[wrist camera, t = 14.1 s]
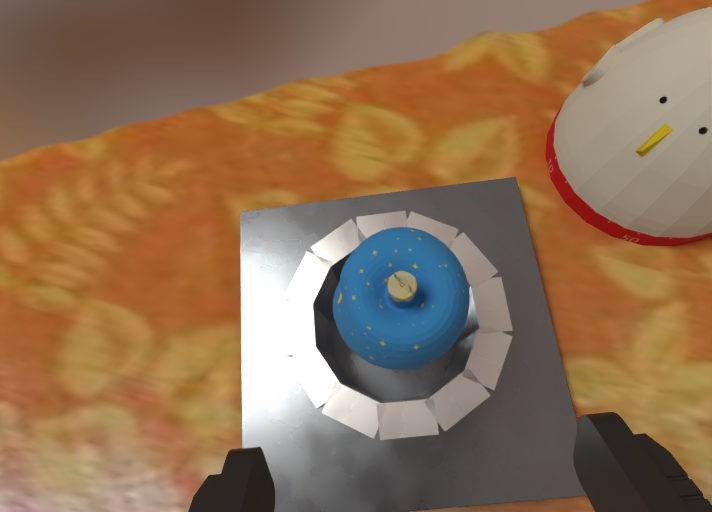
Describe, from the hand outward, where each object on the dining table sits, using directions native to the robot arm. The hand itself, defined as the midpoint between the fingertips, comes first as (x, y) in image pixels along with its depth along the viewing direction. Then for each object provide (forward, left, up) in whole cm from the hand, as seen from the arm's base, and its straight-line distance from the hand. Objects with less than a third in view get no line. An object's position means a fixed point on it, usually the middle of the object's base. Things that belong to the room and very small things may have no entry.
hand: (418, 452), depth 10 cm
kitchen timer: (+20, +16, -17) cm, 31 cm away
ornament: (0, +5, -15) cm, 16 cm away
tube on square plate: (0, +5, -17) cm, 17 cm away
